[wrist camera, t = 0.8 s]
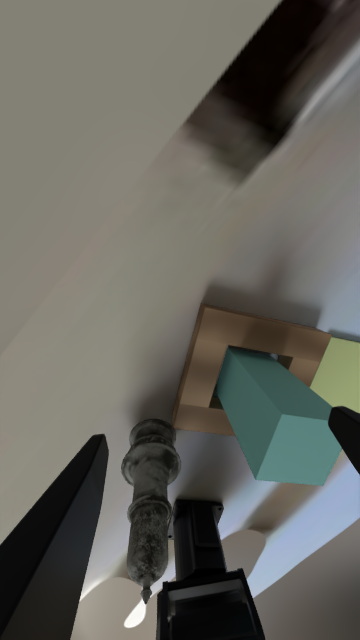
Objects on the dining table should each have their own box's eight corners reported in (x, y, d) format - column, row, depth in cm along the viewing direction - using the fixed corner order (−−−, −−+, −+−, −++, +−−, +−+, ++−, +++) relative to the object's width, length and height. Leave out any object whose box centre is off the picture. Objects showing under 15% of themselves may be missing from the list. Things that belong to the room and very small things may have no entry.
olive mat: (370, 437, 27) (374, 441, 26) (288, 426, 25) (291, 430, 24) (415, 354, 24) (421, 356, 23) (326, 335, 22) (331, 337, 22)
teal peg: (256, 395, 23) (323, 485, 14) (215, 388, 23) (255, 479, 13) (270, 355, 22) (354, 424, 13) (227, 347, 22) (282, 414, 12)
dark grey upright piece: (120, 452, 24) (81, 630, 12) (136, 411, 22) (112, 565, 11) (167, 463, 25) (174, 636, 13) (185, 424, 24) (210, 577, 12)
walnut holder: (276, 428, 25) (285, 442, 23) (172, 414, 23) (173, 428, 21) (316, 328, 22) (331, 334, 20) (201, 303, 20) (205, 307, 18)
